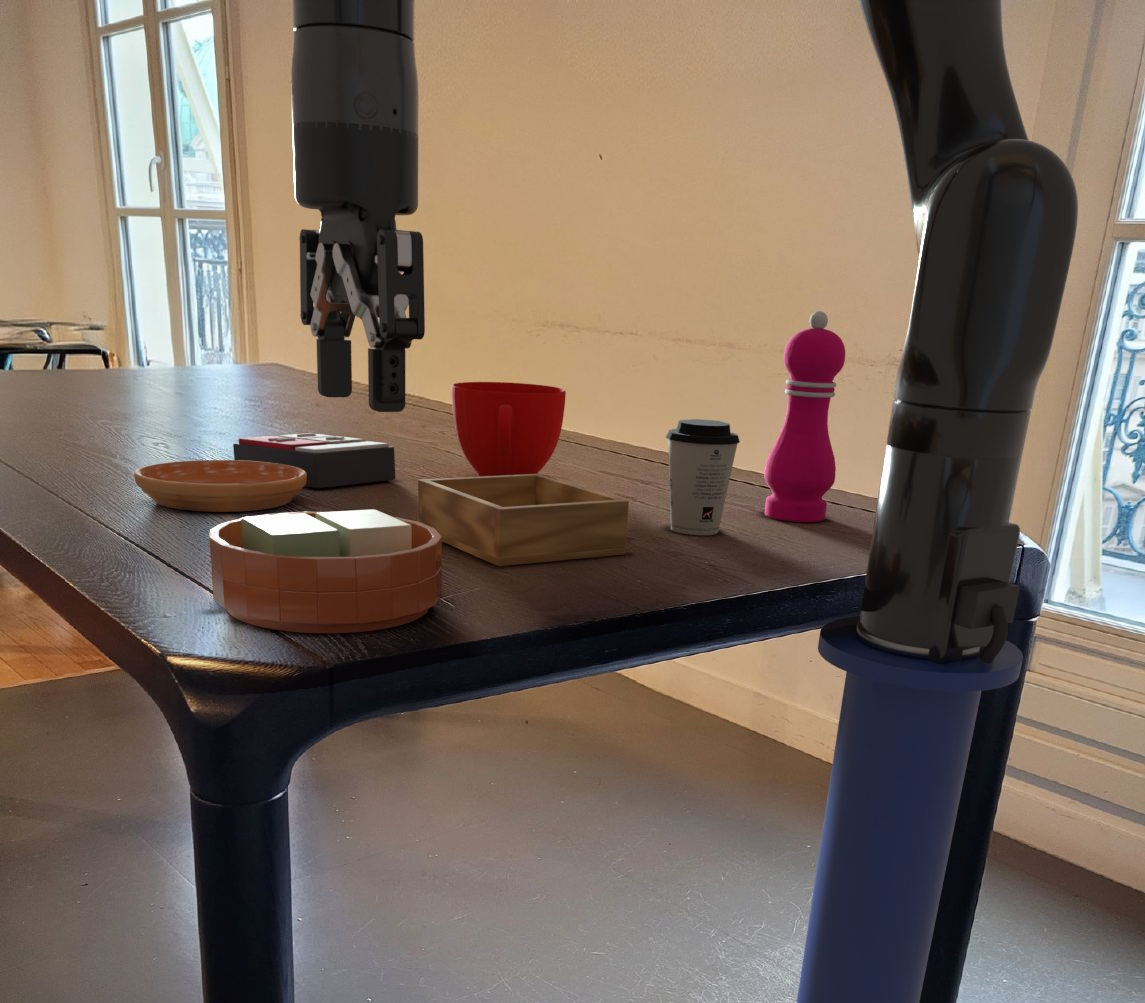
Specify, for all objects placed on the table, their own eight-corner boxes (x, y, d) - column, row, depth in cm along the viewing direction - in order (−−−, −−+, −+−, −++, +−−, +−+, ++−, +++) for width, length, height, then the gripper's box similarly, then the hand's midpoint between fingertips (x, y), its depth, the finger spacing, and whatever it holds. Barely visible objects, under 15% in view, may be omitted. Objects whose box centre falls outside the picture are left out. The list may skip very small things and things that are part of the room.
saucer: (138, 487, 116) (135, 457, 115) (299, 487, 121) (297, 458, 120) (135, 518, 102) (131, 484, 101) (317, 516, 107) (315, 484, 106)
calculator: (311, 430, 135) (395, 439, 126) (313, 468, 136) (397, 479, 127) (230, 436, 127) (314, 446, 118) (234, 475, 129) (317, 488, 119)
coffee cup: (726, 540, 106) (737, 429, 103) (652, 533, 108) (661, 423, 104) (734, 526, 113) (745, 421, 109) (664, 520, 114) (672, 416, 110)
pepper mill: (801, 526, 115) (828, 312, 107) (745, 513, 120) (767, 308, 112) (843, 519, 119) (872, 313, 112) (788, 507, 124) (812, 309, 116)
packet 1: (341, 605, 76) (339, 530, 75) (275, 612, 74) (272, 534, 72) (308, 584, 81) (305, 513, 79) (245, 590, 79) (241, 517, 77)
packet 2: (412, 597, 79) (411, 524, 77) (351, 603, 77) (349, 529, 75) (376, 577, 84) (375, 508, 82) (317, 583, 81) (315, 512, 79)
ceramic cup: (443, 489, 124) (443, 392, 120) (455, 465, 140) (456, 379, 136) (562, 494, 125) (566, 399, 121) (561, 470, 140) (565, 385, 136)
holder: (625, 554, 99) (629, 500, 97) (498, 566, 92) (499, 509, 90) (536, 522, 110) (538, 473, 108) (418, 531, 103) (417, 479, 102)
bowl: (479, 621, 77) (480, 547, 75) (259, 648, 69) (254, 567, 68) (384, 571, 89) (383, 506, 87) (186, 589, 81) (180, 518, 79)
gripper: (466, 124, 66) (460, 416, 72) (365, 138, 77) (368, 392, 83) (343, 107, 62) (349, 418, 68) (255, 125, 73) (267, 392, 79)
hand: (359, 403), depth 76 cm, fingers open, 8 cm apart
